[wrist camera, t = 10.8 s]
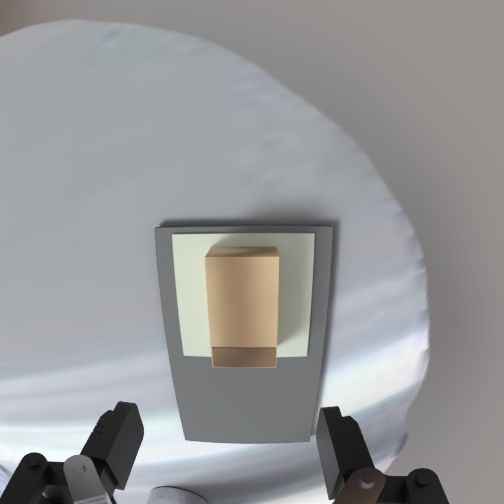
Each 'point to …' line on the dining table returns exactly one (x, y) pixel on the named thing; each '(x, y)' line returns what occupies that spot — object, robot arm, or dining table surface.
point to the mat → (288, 335)
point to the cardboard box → (243, 306)
